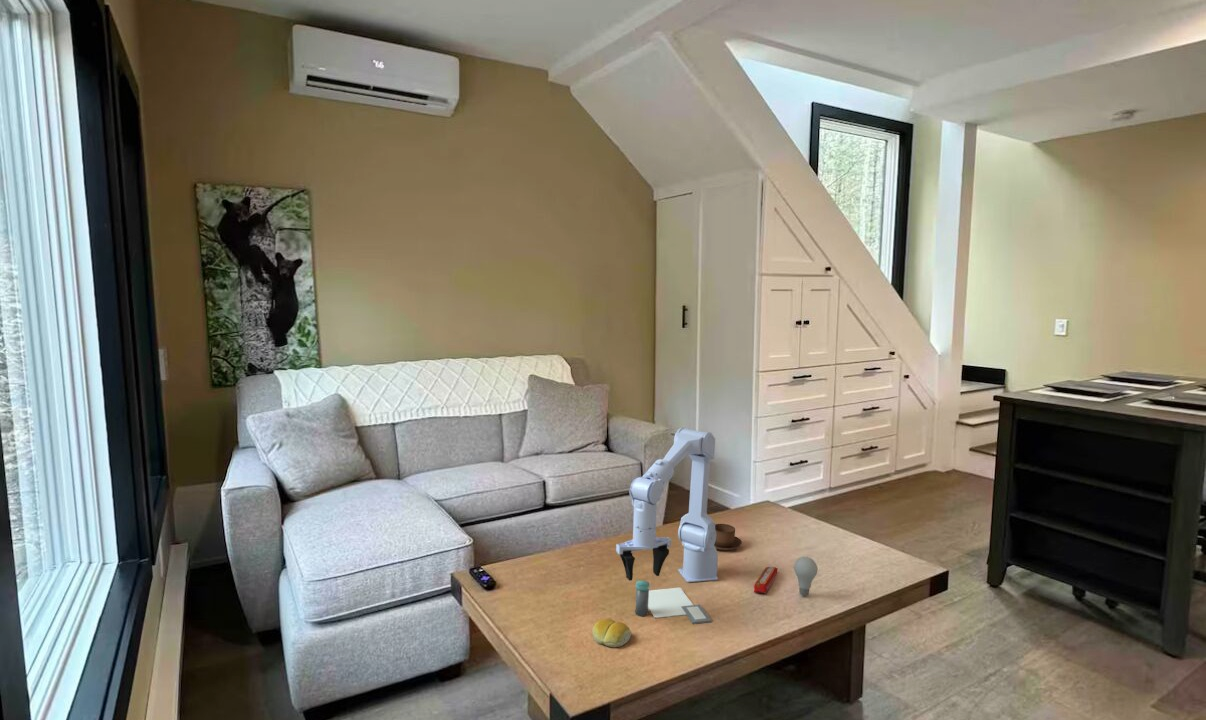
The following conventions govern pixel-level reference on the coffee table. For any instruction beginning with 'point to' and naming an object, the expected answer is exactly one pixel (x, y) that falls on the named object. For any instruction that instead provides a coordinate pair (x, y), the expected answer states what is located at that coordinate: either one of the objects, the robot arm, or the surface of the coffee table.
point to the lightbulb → (805, 574)
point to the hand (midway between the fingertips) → (642, 576)
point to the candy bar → (765, 580)
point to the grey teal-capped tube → (642, 598)
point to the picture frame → (696, 614)
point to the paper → (667, 602)
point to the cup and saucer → (726, 537)
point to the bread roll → (611, 633)
